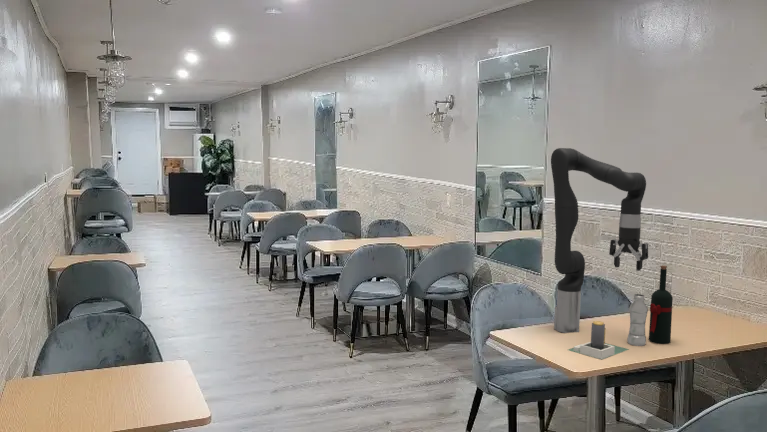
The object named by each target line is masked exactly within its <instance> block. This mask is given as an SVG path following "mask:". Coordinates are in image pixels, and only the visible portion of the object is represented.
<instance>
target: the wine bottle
mask: <svg viewBox="0 0 767 432" xmlns="http://www.w3.org/2000/svg"><path fill="white" fill-rule="evenodd" d="M667 268H668V267H667V265H660V270H659V271H660V272H659V288H658V289H657V290H655V291H653V293H652V294H651V299H650V301H651V302H650V304H649V305H650V306H649V312H650V313H649V314H650V315H649V329H648V342H650V343H653V344H657V345H658V344H659V345H669V344H670V343H671V335H672V317H673V315H672V314H673V300H674V299H673V295H672V293H671V292H670V291H668V290H667V289H666V286H667V272H668V271H667V270H668V269H667Z"/></svg>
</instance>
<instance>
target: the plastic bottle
mask: <svg viewBox="0 0 767 432" xmlns="http://www.w3.org/2000/svg"><path fill="white" fill-rule="evenodd" d="M644 301H646V300H645V295H644V294H641V293H640V294H639V293H638V294H637V293H635V294H633V302H631V304H630V305H629V310H628V311H629V329H628V334H627V345H630V346H635V347H644V346H645V345H646V343H647V336H646V322H647V321H646V320H647V316H648V311H649V308H648V306H647V304H646V303H645V302H644Z"/></svg>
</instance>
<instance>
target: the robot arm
mask: <svg viewBox="0 0 767 432" xmlns="http://www.w3.org/2000/svg"><path fill="white" fill-rule="evenodd" d="M550 166H551V172H552V173H551V174H552V181H553V193H554V194H553V196H554V219H555V246H554V266H555V269H556V271H557V272H558V273H559V274H561V275H564V277H562V279H561V280H559V281H558V284H557V293H556V295H557V296H556V297H557V298H556V299H557V300H556V306H555V307H554V318H553V320H554V321H553V329H554V330H556V331H557V332H559V333H563V334H569V333H570V334H571V333H573V334H574V333H579V332H580V322H581V321H580V320H581V319H580V317H581V300H582V299H581V297H582V286H583V284H584V279H585V272H586V271H585V269H586V262H585V257H584V255H583V253H582V252H581V251H579V250H572V249H571V248H572V247H571V244H572V238H573V234H574V232H575V229H576V228H577V225H578V221H579V202H578V198H577V197H576V195H575V193H574V190H573V189H572V186H571V184H570V177H569V175H570V174H569V172H570V171H576V172H582V173H584V174H585V173H586V174H588V175H590V177H593V178H594V179H596V180H598V181H600V182H603V183H605V184H608V185H611V186H613V187H615V188H616V189H618V190H621V191H624V192H627V195H626V197H625V198H622V200H621V202H620V216H619V220H618V221H619V223H618V240H617V239H615V238H614V239H611V240H610V244H609V256H612V257H613V266H614V267H615V268H620V266H621V265H620V264H621V257H620V256H621V255H622V254H623V253H625V254H632V255H633V257H635V260H636V265H635V266H636V269H635V270H636V271H637V272H638V271H641V270H642V269H643V263H644V260H648V259H649V243H647V242H644V243H641V241H640V239H641V228H642V217H641V215H642V214H641V213H642V212H641V211H642V202H643V199H644V195H645V193H646V188H647V180H646V177H645V176H644V174H643V173H641V172H626V171H623V170H622V169H621V168H620V167H618V166H616V165H612V164H609V163H605V162H603V161H600V160H597V159H593V158H592V157H589V156H587V155H585V154H584V153H582V152H580V151H578V150H577V149H574V148H569V147H566V148H565V147H558V148H556V149H554V150H553V152H552V153H551V156H550ZM617 245H618V246H619V247H618V248H617ZM639 248H640V249H641V251H640V249H639Z"/></svg>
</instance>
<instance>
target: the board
mask: <svg viewBox="0 0 767 432" xmlns="http://www.w3.org/2000/svg"><path fill="white" fill-rule="evenodd" d="M629 350H630V348H626V347H623V346H622V347H621V346H618V345H616V344H615V345H614V344H610V343H606V342H605V344H604V349H602V350H599V349H595V348H592V347H591V341H588V342H585V343H580V344H578V345H575V346H573V347H572V348H569V349H567V351H568V352H569V351H570V352H573V353H577V354H581V355H584V356H587V357H590V358H594V359H598V360H604V359H607V358H611V357H612V356H615V355H618V354H620V353H624V352H626V351H629Z"/></svg>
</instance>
